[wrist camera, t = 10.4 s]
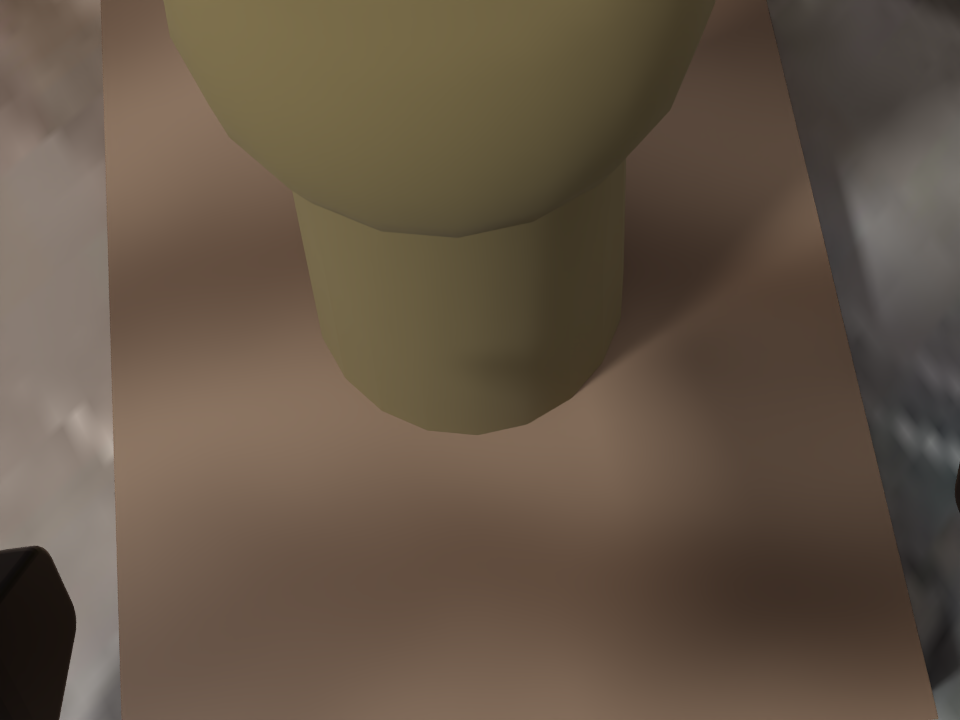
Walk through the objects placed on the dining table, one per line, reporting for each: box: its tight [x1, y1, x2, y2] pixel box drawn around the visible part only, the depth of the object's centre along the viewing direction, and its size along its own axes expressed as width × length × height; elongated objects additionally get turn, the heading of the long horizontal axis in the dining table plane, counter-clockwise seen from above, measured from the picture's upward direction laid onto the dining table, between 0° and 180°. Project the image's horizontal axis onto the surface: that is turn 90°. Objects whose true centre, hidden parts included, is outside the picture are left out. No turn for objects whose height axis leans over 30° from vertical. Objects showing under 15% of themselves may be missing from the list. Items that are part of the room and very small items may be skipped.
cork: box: [163, 0, 715, 435], centre depth 12 cm, size 6×6×11 cm
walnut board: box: [101, 0, 938, 720], centre depth 18 cm, size 18×14×1 cm
